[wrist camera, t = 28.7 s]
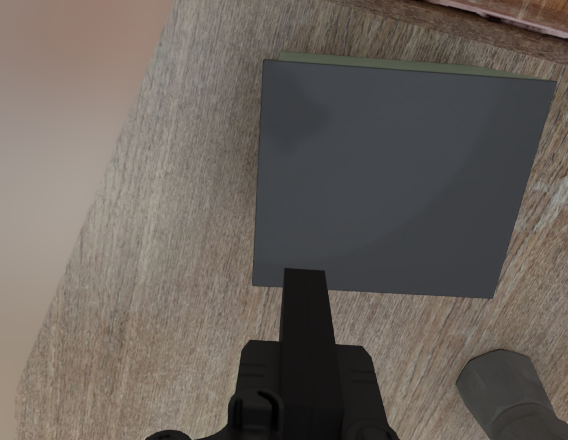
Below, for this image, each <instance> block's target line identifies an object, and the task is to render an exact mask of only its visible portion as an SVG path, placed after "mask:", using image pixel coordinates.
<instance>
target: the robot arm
mask: <svg viewBox="0 0 568 440" xmlns="http://www.w3.org/2000/svg"><path fill="white" fill-rule="evenodd" d="M145 440H191V439H190V437H189V436H188V435H187V434H185V433H183V432H181V431H177V430H164V431H160V432H156V433H154V434H153V435H151V436H149V437H147V438H146V439H145ZM196 440H400V439H399V438H398V436H397V434H396V432H395V431H394V430H393V429H392V428H391V427H390V426H389V424H388V422H387V418H386V414H385V410H384V406H383V402H382V398H381V394H380V390H379V386H378V383H377V378H376V374H375V370H374V366H373V362H372V358H371V356H370V355H369V354H368V353H367V351H366V350H365V349H364V348H363V346H355V345H339V344H335V337H334V330H333V323H332V316H331V310H330V303H329V296H328V289H327V282H326V275H325V271H324V270H310V269H295V268H284V280H283V292H282V305H281V317H280V331H279V342H277V341H261V340H249V342H248V343H247V344H246V345H245V347H244V348H243V349H242V352H241V358H240V365H239V372H238V378H237V385H236V391H235V394H234V395H233V396H232V397H231V399H230V402H229V404H228V424H227V425H226V426H225V427H224V428H223V429H222V430H221V431H219V432H217V433H216V434H214V435H211V436H208V437H205V438H201V439H196Z"/></svg>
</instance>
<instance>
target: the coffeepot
mask: <svg viewBox="0 0 568 440" xmlns="http://www.w3.org/2000/svg"><path fill="white" fill-rule="evenodd" d="M456 386H457V388H458V390H459V392H460V394H461V397H462V399H463V401H464V403H465V405H466V406H467V408H468V409H469V411H470V412H471V413H472V415H473V416H474V418H475V419H476V420H477V422H478V423H479V424H480V426H481V427H482V429H483V430H484V431H485V433H486V434H487V436H488V437H489V438H490V440H568V424H567V423H566V422H565V421H562V420H559V419H558V418H557V416H556V414H555V412H554V410H553V407H552V405H551V403H550V401H549V399H548V397H547V394H546V392H545V390H544V388H543V386H542V384H541V381H540V379H539V377H538V375H537V373H536V371H535V369H534V366H533V364H532V362H531V360H530V358H529V357H526V356H523V355H520V354H518V353H515V352H511V351H503V350H498V351H492V352H489V353H485V354H483V355H481V356H478V357H477V358H475V359H474V360H472V361H470V362H469V363H468V364H467V365H466V366H465V368H464V369H463V370H462V372H461V374H460V376H459V380H458V382H457V384H456Z"/></svg>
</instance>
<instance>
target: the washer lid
mask: <svg viewBox="0 0 568 440" xmlns="http://www.w3.org/2000/svg"><path fill="white" fill-rule="evenodd" d="M556 84H557V81H552V80H541V79H528V78H514V77H501V76H487V75H473V74H460V73H446V72H433V71H419V70H406V69H392V68H378V67H365V66H351V65H338V64H324V63H311V62H297V61H283V60H270V59H264V60H263V73H262V93H261V113H260V134H259V154H258V175H257V195H256V215H255V236H254V256H253V276H252V286H264V287H283V280H284V268H295V269H310V270H324V271H325V275H326V282H327V289H328V290H339V291H357V292H376V293H395V294H413V295H432V296H450V297H469V298H488V299H493V296H494V293H495V290H496V286H497V283H498V279H499V276H500V273H501V269H502V266H503V263H504V259H505V256H506V253H507V249H508V246H509V242H510V239H511V236H512V232H513V229H514V226H515V222H516V219H517V216H518V212H519V209H520V205H521V202H522V199H523V195H524V192H525V189H526V185H527V182H528V179H529V175H530V172H531V168H532V165H533V162H534V158H535V155H536V152H537V148H538V145H539V142H540V138H541V135H542V131H543V128H544V125H545V121H546V118H547V115H548V111H549V108H550V104H551V101H552V98H553V94H554V91H555V88H556Z"/></svg>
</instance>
